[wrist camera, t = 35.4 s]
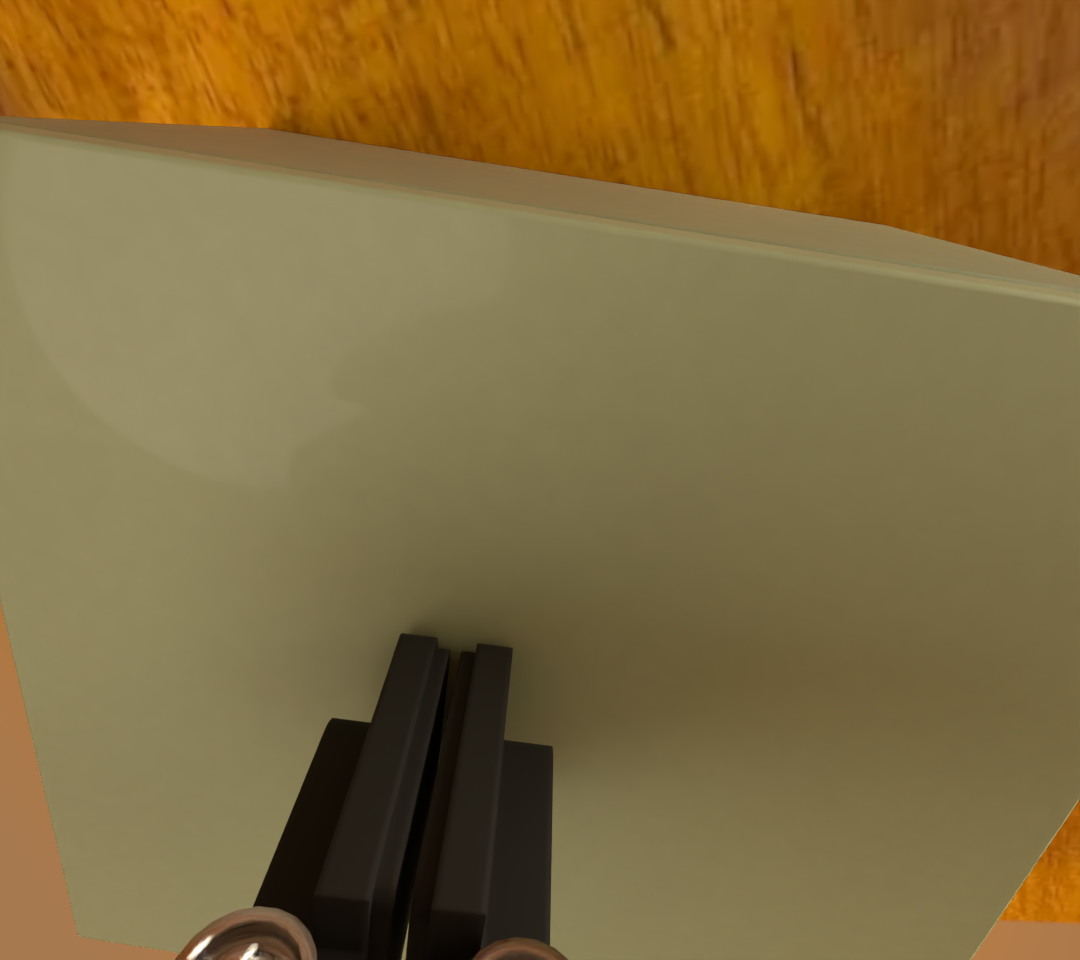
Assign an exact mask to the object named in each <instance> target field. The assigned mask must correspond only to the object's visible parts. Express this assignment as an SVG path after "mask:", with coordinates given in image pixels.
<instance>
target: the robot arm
mask: <svg viewBox="0 0 1080 960" xmlns="http://www.w3.org/2000/svg"><path fill="white" fill-rule="evenodd" d="M512 654H513V648H510V647H503V646H495V645H488V644H480V643H477V648H476V653H473V652H465V651H462V652H461V656H460V661H459V666H458V671H457V676H456V681H455V686H454V691H453V696H452V701H451V706H450V711H449V716H448V721H447V726H446V731H445V736H444V741H443V746H442V751H441V756H440V760H439V752H440V743H441V734H442V725H443V716H444V706H445V697H446V688H447V679H448V670H449V661H450V649H442V648H438V638H435V637H428V636H420V635H413V634H405V633H401V634H400V637H399V639H398V642H397V645H396V648H395V651H394V654H393V657H392V660H391V663H390V666H389V669H388V672H387V675H386V678H385V681H384V684H383V687H382V690H381V693H380V696H379V699H378V702H377V705H376V708H375V711H374V714H373V717H372V720H371V723H370V722H362V721H354V720H347V719H339V718H331V720H330V721H329V722H328V724H327V726H326V728H325V730H324V733H323V735H322V737H321V740H320V742H319V745H318V747H317V750H316V752H315V755H314V757H313V760H312V762H311V765H310V767H309V769H308V772H307V774H306V777H305V779H304V782H303V784H302V787H301V789H300V792H299V794H298V796H297V799H296V801H295V804H294V806H293V809H292V811H291V814H290V816H289V819H288V821H287V824H286V826H285V828H284V831H283V833H282V836H281V838H280V841H279V843H278V846H277V848H276V851H275V853H274V855H273V858H272V860H271V863H270V865H269V868H268V870H267V873H266V875H265V878H264V880H263V883H262V885H261V887H260V890H259V892H258V895H257V897H256V900H255V902H254V905H253V907H252V908H246V909H241V910H236V911H234V912H231V913H229V914H227V915H225V916H223V917H221V918H218V919H216V920H214V921H213V922H211V923H210V924H209V925H208V926H206V927H205V928H204V929H202V930H201V931H200V932H199V933H197V934H196V935H195V936H194V937H193V938H192V939H191V940H190V941H189V943H188V944H187V945H186V946H185V948H184V949H183V950H182V951H181V953H180V954H179V955H178V956H177V958H176V959H175V960H401V959H402V954H403V949H404V944H405V939H406V934H407V929H408V939H407V949H406V959H405V960H568V959H567V958H566V957H565V956H564V955H562V954H561V953H560V952H559V951H558V950H557V949H556V948H554V947H551V946H550V920H551V864H552V808H553V747H552V746H548V745H540V744H533V743H525V742H517V741H509V740H504V733H505V723H506V713H507V704H508V694H509V684H510V674H511V664H512ZM438 761H439V765H438ZM408 924H409V928H408Z"/></svg>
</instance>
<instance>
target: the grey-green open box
mask: <svg viewBox="0 0 1080 960" xmlns="http://www.w3.org/2000/svg"><path fill="white" fill-rule="evenodd" d="M0 123H5V124H11V125H17V126H24V127H30V128H36V129H43V130H49V131H55V132H62V133H68V134H74V135H81V136H87V137H93V138H100V139H106V140H112V141H119V142H125V143H131V144H138V145H144V146H150V147H157V148H163V149H169V150H176V151H182V152H188V153H195V154H201V155H207V156H214V157H220V158H226V159H233V160H239V161H245V162H252V163H258V164H264V165H271V166H277V167H283V168H290V169H296V170H302V171H309V172H315V173H321V174H328V175H334V176H340V177H347V178H353V179H359V180H366V181H372V182H378V183H385V184H391V185H397V186H404V187H410V188H416V189H423V190H429V191H435V192H442V193H448V194H454V195H461V196H467V197H473V198H480V199H486V200H492V201H499V202H505V203H511V204H518V205H524V206H530V207H537V208H543V209H549V210H556V211H562V212H568V213H575V214H581V215H587V216H594V217H600V218H606V219H613V220H619V221H625V222H632V223H638V224H644V225H651V226H657V227H663V228H670V229H676V230H682V231H689V232H695V233H701V234H708V235H714V236H720V237H727V238H733V239H739V240H746V241H752V242H758V243H765V244H771V245H777V246H784V247H790V248H796V249H803V250H809V251H815V252H822V253H828V254H834V255H841V256H847V257H853V258H860V259H866V260H872V261H879V262H885V263H891V264H898V265H904V266H910V267H917V268H923V269H929V270H936V271H942V272H948V273H955V274H961V275H967V276H974V277H980V278H986V279H993V280H999V281H1005V282H1012V283H1018V284H1024V285H1031V286H1037V287H1043V288H1050V289H1056V290H1062V291H1069V292H1075V293H1080V276H1079V275H1075V274H1071V273H1067V272H1064V271H1060V270H1056V269H1052V268H1048V267H1044V266H1040V265H1037V264H1033V263H1029V262H1025V261H1021V260H1017V259H1013V258H1010V257H1006V256H1002V255H998V254H994V253H990V252H986V251H983V250H979V249H975V248H971V247H967V246H963V245H959V244H956V243H952V242H948V241H944V240H940V239H936V238H932V237H929V236H925V235H921V234H917V233H913V232H909V231H905V230H902V229H898V228H894V227H891V226H887V225H881V224H874V223H868V222H862V221H855V220H849V219H842V218H836V217H830V216H823V215H817V214H810V213H804V212H798V211H791V210H785V209H778V208H772V207H766V206H759V205H753V204H746V203H740V202H734V201H727V200H721V199H714V198H708V197H702V196H695V195H689V194H682V193H676V192H670V191H663V190H657V189H650V188H644V187H638V186H631V185H625V184H618V183H612V182H606V181H599V180H593V179H586V178H580V177H574V176H567V175H561V174H554V173H548V172H542V171H535V170H529V169H522V168H516V167H510V166H503V165H497V164H490V163H484V162H478V161H471V160H465V159H458V158H452V157H446V156H439V155H433V154H426V153H420V152H414V151H407V150H401V149H394V148H388V147H382V146H375V145H369V144H362V143H356V142H350V141H343V140H337V139H330V138H324V137H318V136H311V135H305V134H298V133H292V132H286V131H279V130H273V129H266V128H244V127H222V126H200V125H178V124H156V123H134V122H112V121H90V120H68V119H47V118H25V117H3V116H0Z"/></svg>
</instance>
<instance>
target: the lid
mask: <svg viewBox="0 0 1080 960" xmlns="http://www.w3.org/2000/svg"><path fill="white" fill-rule="evenodd" d="M0 603H1V607H2V611H3V616H4V620H5V624H6V628H7V632H8V637H9V641H10V645H11V650H12V654H13V658H14V663H15V667H16V671H17V676H18V680H19V684H20V689H21V693H22V697H23V701H24V705H25V710H26V714H27V718H28V723H29V727H30V731H31V736H32V740H33V744H34V749H35V753H36V757H37V761H38V766H39V770H40V775H41V779H42V783H43V787H44V791H45V796H46V800H47V805H48V808H49V813H50V817H51V822H52V826H53V830H54V835H55V839H56V843H57V848H58V852H59V856H60V861H61V865H62V869H63V873H64V878H65V881H66V886H67V890H68V894H69V899H70V904H71V907H72V912H73V916H74V921H75V925H76V929H77V934H78V935H79V936H80V937H83V938H90V939H95V940H102V941H108V942H114V943H120V944H127V945H134V946H139V947H145V948H152V949H158V950H164V951H171V952H177V953H181V951H182V950H183V949H184V948H185V946H186V945H187V944H188V943H189V941H190V940H191V939H192V938H193V937H194V936H195V935H196V934H197V933H199V932H200V931H201V930H202V929H204V928H205V927H206V926H208V925H209V924H210V923H211V922H213V921H214V920H216V919H218V918H221V917H223V916H225V915H227V914H229V913H231V912H234V911H236V910H241V909H246V908H252V907H253V905H254V902H255V900H256V897H257V895H258V892H259V890H260V887H261V885H262V883H263V880H264V878H265V875H266V873H267V870H268V868H269V865H270V863H271V860H272V858H273V855H274V853H275V851H276V848H277V846H278V843H279V841H280V838H281V836H282V833H283V831H284V828H285V826H286V824H287V821H288V819H289V816H290V814H291V811H292V809H293V806H294V804H295V801H296V799H297V796H298V794H299V792H300V789H301V787H302V784H303V782H304V779H305V777H306V774H307V772H308V769H309V767H310V765H311V762H312V760H313V757H314V755H315V752H316V750H317V747H318V745H319V742H320V740H321V737H322V735H323V733H324V730H325V728H326V726H327V724H328V722H329V721H330V720H331V718H339V719H347V720H354V721H362V722H370V723H371V720H372V717H373V714H374V711H375V708H376V705H377V702H378V699H379V696H380V693H381V690H382V687H383V684H384V681H385V678H386V675H387V672H388V669H389V666H390V663H391V660H392V657H393V654H394V651H395V648H396V645H397V642H398V639H399V637H400V634H401V633H405V634H413V635H420V636H428V637H435V638H438V648H442V649H450V661H449V670H448V679H447V688H446V697H445V706H444V716H443V725H442V734H441V743H440V752H439V760H440V756H441V751H442V746H443V741H444V736H445V731H446V726H447V721H448V716H449V711H450V706H451V701H452V696H453V691H454V686H455V681H456V676H457V671H458V666H459V661H460V656H461V652H462V651H465V652H473V653H476V648H477V643H480V644H488V645H495V646H503V647H510V648H513V654H512V664H511V674H510V684H509V694H508V704H507V713H506V723H505V733H504V740H509V741H517V742H525V743H533V744H540V745H548V746H552V747H553V808H552V864H551V920H550V946H551V947H554V948H556V949H557V950H558V951H559V952H560V953H561V954H562V955H564V956H565V957H566V958H567V959H568V960H971V959H972V958H973V956H974V954H975V953H976V952H977V950H978V949H979V947H980V946H981V944H982V943H983V941H984V940H985V939H986V937H987V935H988V934H989V933H990V931H991V930H992V928H993V927H994V925H995V924H996V922H997V921H998V919H999V918H1000V916H1001V915H1002V913H1003V912H1004V910H1005V909H1006V908H1007V906H1008V905H1009V903H1010V902H1011V900H1012V899H1013V897H1014V896H1015V894H1016V893H1017V891H1018V890H1019V888H1020V887H1021V885H1022V884H1023V882H1024V881H1025V879H1026V878H1027V877H1028V875H1029V874H1030V872H1031V871H1032V869H1033V868H1034V866H1035V865H1036V863H1037V862H1038V860H1039V859H1040V857H1041V856H1042V854H1043V853H1044V851H1045V850H1046V848H1047V847H1048V846H1049V844H1050V843H1051V841H1052V840H1053V838H1054V837H1055V835H1056V834H1057V832H1058V831H1059V829H1060V828H1061V826H1062V825H1063V823H1064V822H1065V820H1066V819H1067V817H1068V816H1069V815H1070V813H1071V812H1072V810H1073V809H1074V807H1075V806H1076V804H1077V803H1078V801H1079V800H1080V293H1075V292H1069V291H1062V290H1056V289H1050V288H1043V287H1037V286H1031V285H1024V284H1018V283H1012V282H1005V281H999V280H993V279H986V278H980V277H974V276H967V275H961V274H955V273H948V272H942V271H936V270H929V269H923V268H917V267H910V266H904V265H898V264H891V263H885V262H879V261H872V260H866V259H860V258H853V257H847V256H841V255H834V254H828V253H822V252H815V251H809V250H803V249H796V248H790V247H784V246H777V245H771V244H765V243H758V242H752V241H746V240H739V239H733V238H727V237H720V236H714V235H708V234H701V233H695V232H689V231H682V230H676V229H670V228H663V227H657V226H651V225H644V224H638V223H632V222H625V221H619V220H613V219H606V218H600V217H594V216H587V215H581V214H575V213H568V212H562V211H556V210H549V209H543V208H537V207H530V206H524V205H518V204H511V203H505V202H499V201H492V200H486V199H480V198H473V197H467V196H461V195H454V194H448V193H442V192H435V191H429V190H423V189H416V188H410V187H404V186H397V185H391V184H385V183H378V182H372V181H366V180H359V179H353V178H347V177H340V176H334V175H328V174H321V173H315V172H309V171H302V170H296V169H290V168H283V167H277V166H271V165H264V164H258V163H252V162H245V161H239V160H233V159H226V158H220V157H214V156H207V155H201V154H195V153H188V152H182V151H176V150H169V149H163V148H157V147H150V146H144V145H138V144H131V143H125V142H119V141H112V140H106V139H100V138H93V137H87V136H81V135H74V134H68V133H62V132H55V131H49V130H43V129H36V128H30V127H24V126H17V125H11V124H5V123H0ZM438 765H439V761H438ZM408 928H409V924H408ZM407 939H408V929H407V934H406V939H405V944H404V949H403V954H402V959H401V960H405V959H406V949H407Z"/></svg>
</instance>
